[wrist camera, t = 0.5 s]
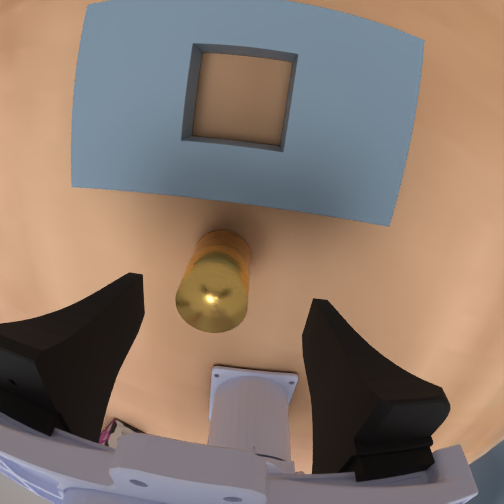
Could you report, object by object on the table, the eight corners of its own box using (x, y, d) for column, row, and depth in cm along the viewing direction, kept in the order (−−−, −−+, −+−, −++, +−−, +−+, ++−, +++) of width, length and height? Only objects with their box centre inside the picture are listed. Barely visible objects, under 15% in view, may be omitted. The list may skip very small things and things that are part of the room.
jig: (373, 211, 20) (389, 226, 18) (93, 176, 20) (71, 187, 17) (403, 47, 15) (424, 40, 13) (108, 14, 14) (87, 4, 12)
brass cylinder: (246, 283, 23) (242, 336, 18) (193, 276, 23) (175, 327, 18) (254, 234, 21) (252, 278, 16) (196, 226, 21) (175, 268, 16)
